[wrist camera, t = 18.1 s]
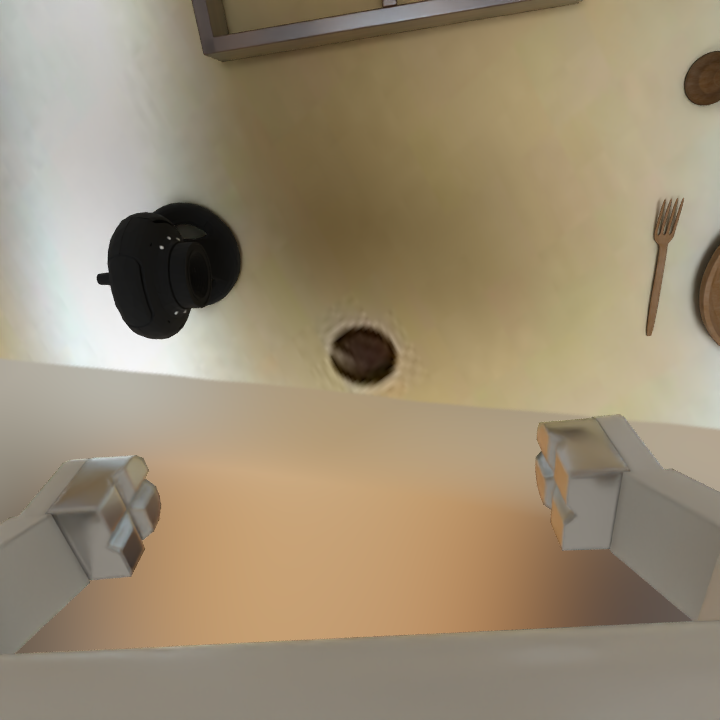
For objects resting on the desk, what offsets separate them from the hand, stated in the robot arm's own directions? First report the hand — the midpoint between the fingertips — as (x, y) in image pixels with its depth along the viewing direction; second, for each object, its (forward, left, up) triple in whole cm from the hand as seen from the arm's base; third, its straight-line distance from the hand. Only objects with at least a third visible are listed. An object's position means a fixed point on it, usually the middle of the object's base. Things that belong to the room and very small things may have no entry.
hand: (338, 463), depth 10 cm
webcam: (-14, 0, -27) cm, 31 cm away
